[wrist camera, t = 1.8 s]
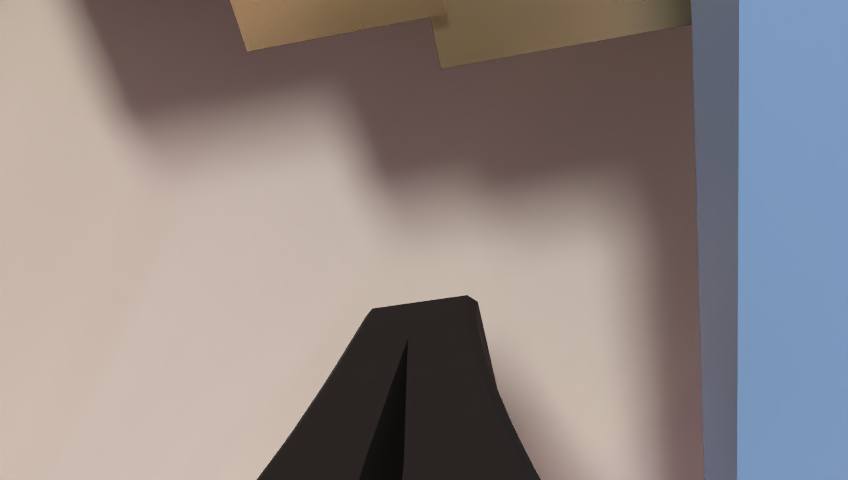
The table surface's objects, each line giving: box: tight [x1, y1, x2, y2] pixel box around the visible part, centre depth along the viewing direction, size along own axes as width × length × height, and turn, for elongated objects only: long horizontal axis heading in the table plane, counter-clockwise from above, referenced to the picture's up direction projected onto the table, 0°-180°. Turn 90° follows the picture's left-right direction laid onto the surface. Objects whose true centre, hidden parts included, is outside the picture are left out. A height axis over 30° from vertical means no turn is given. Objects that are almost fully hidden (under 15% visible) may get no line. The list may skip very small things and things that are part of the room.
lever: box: [691, 0, 848, 480], centre depth 9 cm, size 3×14×2 cm, turn 12°
